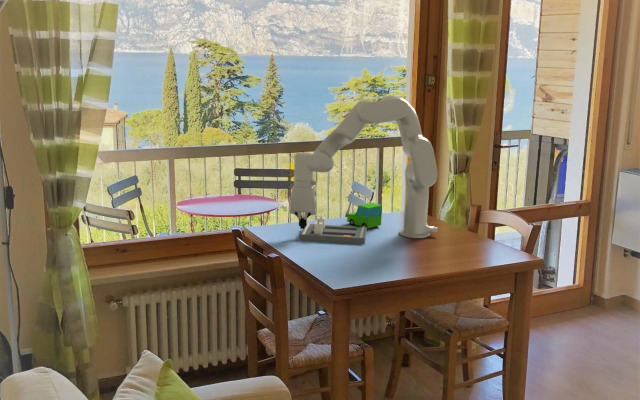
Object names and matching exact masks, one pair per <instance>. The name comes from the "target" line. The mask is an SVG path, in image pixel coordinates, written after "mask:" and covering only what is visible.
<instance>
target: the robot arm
mask: <svg viewBox="0 0 640 400" xmlns="http://www.w3.org/2000/svg"><path fill="white" fill-rule="evenodd" d="M419 119H420V118H419V117H418V114H417V112H416V110H415V108H414V107H413V106H412V105H411V104H410V103H409V102H408V101H407V100H406V99H404V98H402V97H399V96H397V95H387V96H385V97H384V98H382V100H377V101H370V100H368V99H367V100H366V99H361V100H360V101H358V102H357V103H356V104H354V106H353V107H352V108H351V110H350V111H349V112H348V113H347V115H346V116H345V117H344V119H343V120H342V121H341V122H340V123H339V124H338V126H337V127H336V128H335V129H334V130H333V131H331V132H330V133H329V134H328V135H327V136H326V137H325V138H324V139H323V140H322V141H321V143H320V144H318V146H317V147H316V148H315V149H314V151H313V153H311V152H304V151H303V152H302V151H301V152H297V153H295V155H294V162H293V163H294V165H293V166H294V169H293V170H294V174H293V175H294V177H293V181H294V182H293V186H292V188H291V192H290V202H289V203H290V206H289V214H291V215H294V216H296V218H297V219H298V227H300V228H299V229H300V230H302V229H304V228H305V227H306V226H307V224H308V223H307V222H308V220H307V219H308V218H309V217H311V216H315V215H316V214H317V210H316V209H317V193H316V192H317V191H316V186H317V184H318V183H317V181H315V180H314V173H315V172H318V173H328V172H330V171H332V169H333V168H334V166H335V161H334V159H333V157H334V156H335V155H336V154H337V153H338V151H339V150H340V149H342V148H343V147H345V146H347V145H349V144H351V143H353V142H354V141H355V140H356V139H357V137H359V135H360V134H361V133H362V132H363V130H364V129H365V128H366V126H368V125H373V124H382V123H383V124H384V123H388V122H396V123H397V126H398V131H399V135H400V140H401V145H402V151H403V152H404V154H405V155H406V157H408V158H409V159H410V160H411V161H409V162H408V163H407V165H406V166H405V171H404V180H405V194H404V195H405V196H404V210H403V212H404V213H403V228H400V229H399V235H401V236H402V237H405V238H409V239H411V238H412V239H425V238H428V237H430V235H431V233H432V232H433V233H438V226H437V227H435V226H434V225H433V226H431V225H428V210H429V197H430V196H429V195H430V194H429V192H430V187H432V186H433V185H434V184H435V183H436V182H437V180H438V167H437V161H436V156H435V151H434V148H433V145H432V143H431V141H430V140H429V139H427V138H426V137H424V135H423V132H422V128H421V124H420V120H419ZM315 185H316V186H315ZM303 213H304V215H302V214H303Z"/></svg>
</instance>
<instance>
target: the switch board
mask: <svg viewBox="0 0 640 400" xmlns="http://www.w3.org/2000/svg"><path fill="white" fill-rule="evenodd" d="M367 232H368V229H367V227H363V226H356V225H354V226H351V225H337V224H336V225H333V224H332V225H331V224H325V229H322V234H314V223H309V222H308V223H307V226H306V227H305V228H304V229H301V231H300V233H299V240H298V241H305V242H306V241H307V242H322V243H338V244H339V243H340V244H356V245H365V244H366V239H367Z"/></svg>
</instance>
